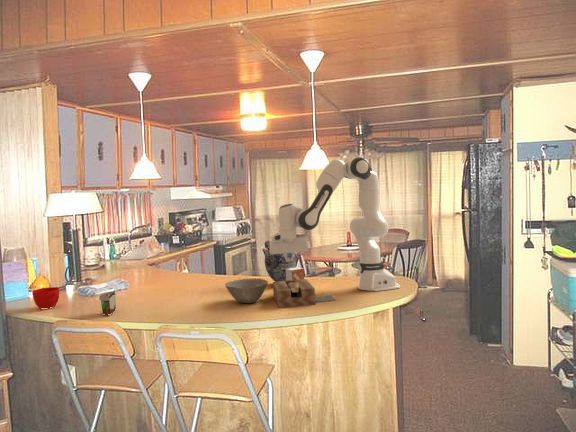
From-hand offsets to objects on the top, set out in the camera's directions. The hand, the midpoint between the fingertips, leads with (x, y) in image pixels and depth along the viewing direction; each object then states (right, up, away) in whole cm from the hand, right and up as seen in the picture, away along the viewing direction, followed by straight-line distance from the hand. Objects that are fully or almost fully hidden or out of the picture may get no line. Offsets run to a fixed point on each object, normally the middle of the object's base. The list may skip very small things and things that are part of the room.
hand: (289, 261), depth 259 cm
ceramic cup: (-129, -26, +7) cm, 131 cm away
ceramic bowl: (-22, -21, -3) cm, 30 cm away
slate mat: (+17, -18, -7) cm, 26 cm away
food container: (-91, -25, -12) cm, 95 cm away
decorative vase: (-4, -17, +35) cm, 39 cm away
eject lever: (+2, -15, -6) cm, 17 cm away
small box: (+4, -18, +13) cm, 23 cm away
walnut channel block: (+2, -19, -6) cm, 20 cm away
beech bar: (+2, -14, -9) cm, 17 cm away
